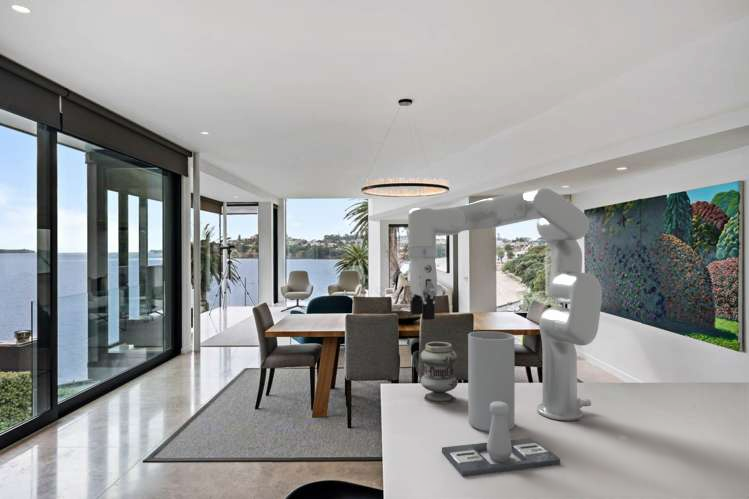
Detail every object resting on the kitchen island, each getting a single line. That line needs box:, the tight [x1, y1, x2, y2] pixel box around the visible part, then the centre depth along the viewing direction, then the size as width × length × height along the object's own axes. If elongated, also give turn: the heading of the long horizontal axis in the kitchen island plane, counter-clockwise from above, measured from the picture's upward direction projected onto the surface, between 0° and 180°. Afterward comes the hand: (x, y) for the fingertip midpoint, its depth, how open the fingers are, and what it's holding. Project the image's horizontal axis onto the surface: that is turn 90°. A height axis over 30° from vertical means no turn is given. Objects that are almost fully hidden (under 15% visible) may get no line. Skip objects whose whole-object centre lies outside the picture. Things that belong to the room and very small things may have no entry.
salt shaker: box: [486, 401, 513, 463], centre depth 106 cm, size 6×6×13 cm
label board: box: [441, 437, 561, 478], centre depth 106 cm, size 24×12×2 cm, turn 103°
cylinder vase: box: [467, 330, 516, 433], centre depth 126 cm, size 12×12×25 cm
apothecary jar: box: [420, 341, 459, 405], centre depth 148 cm, size 12×12×18 cm
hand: (422, 316), depth 122 cm, fingers open, 9 cm apart
